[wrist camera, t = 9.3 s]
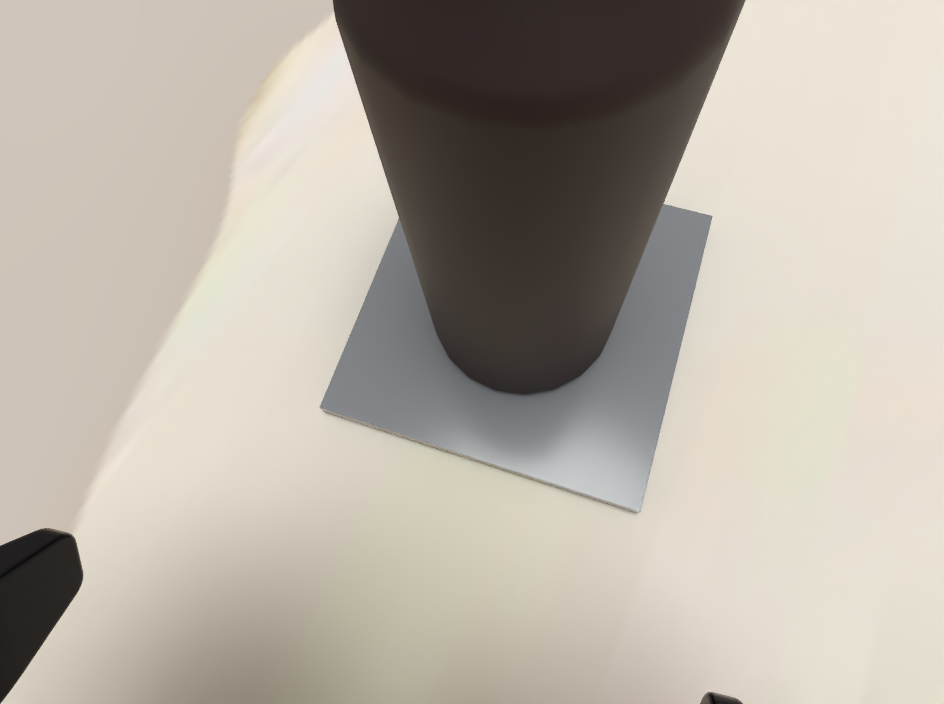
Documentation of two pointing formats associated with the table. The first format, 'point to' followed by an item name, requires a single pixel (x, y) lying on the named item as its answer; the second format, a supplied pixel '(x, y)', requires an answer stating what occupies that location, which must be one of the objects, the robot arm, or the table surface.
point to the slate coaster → (535, 414)
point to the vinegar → (530, 159)
